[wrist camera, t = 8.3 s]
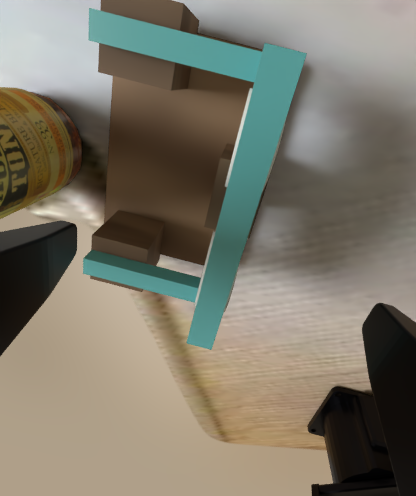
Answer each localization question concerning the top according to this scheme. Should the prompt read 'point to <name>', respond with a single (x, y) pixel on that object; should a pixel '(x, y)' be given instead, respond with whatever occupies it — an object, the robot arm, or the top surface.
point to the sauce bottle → (34, 149)
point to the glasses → (241, 167)
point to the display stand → (166, 145)
